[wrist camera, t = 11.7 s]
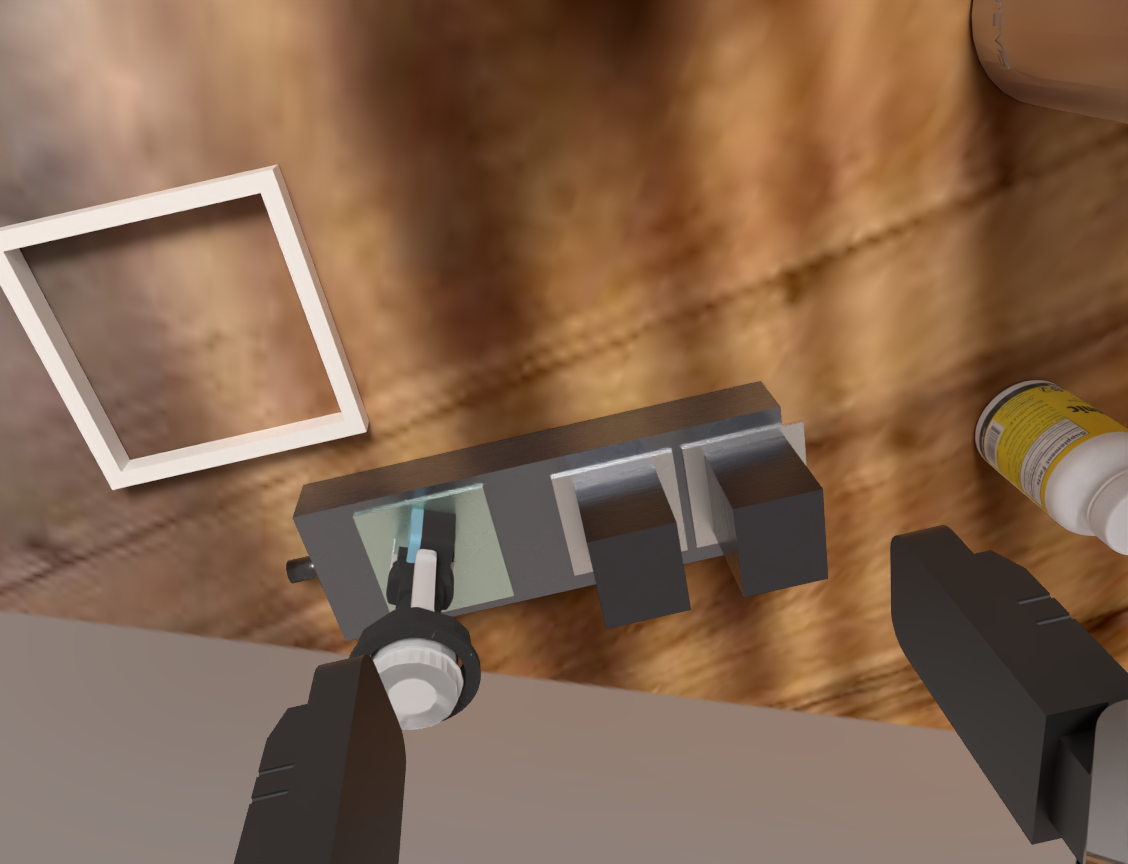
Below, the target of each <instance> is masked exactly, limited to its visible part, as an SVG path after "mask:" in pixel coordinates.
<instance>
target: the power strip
mask: <svg viewBox="0 0 1128 864" xmlns="http://www.w3.org/2000/svg"><path fill="white" fill-rule="evenodd" d="M413 508H415V509H422V510H429V511H437V512H444V513H451V514H456V532H455V564H454V568H453V575H454V595H453V600H452V602H451V604H450V606H449V607H448V609H447V610H442V611H441V614H445V615H448V616H452V617H454V616H458V615H463V614H467V613H471V612H476V611H480V610H485V609H489V608H493V607H498V606H502V605H507V604H511V603H515V602H520V601H524V600H529V599H533V598H537V597H542V596H546V595H551V594H555V593H559V592H564V591H568V590H573V589H577V588H581V587H586V586H590V585H594V584H596V586H597V590H598V595H599V599H600V603H601V608H602V612H603V616H604V621H605V625H606V629H609V628H613V627H617V626H622V625H626V624H630V623H635V622H639V621H644V620H648V619H652V618H657V617H661V616H666V615H670V614H674V613H679V612H683V611H688V610H691V608H690V601H689V595H688V589H687V583H686V577H685V571H684V565H683V564H687V563H691V562H696V561H700V560H704V559H709V558H713V557H718V556H722V555H724V556H725V559H726V561H727V563H728V565H729V567H730V569H731V572H732V574H733V576H734V578H735V580H736V582H737V584H738V587H739V589H740V591H741V593H742V595H743V597H744V598H745V597H749V596H754V595H758V594H762V593H767V592H771V591H775V590H780V589H784V588H789V587H793V586H797V585H802V584H806V583H811V582H815V581H819V580H824V579H828V568H827V551H826V534H825V517H824V500H823V488H822V487H821V486H820V484H819V483H818V482H817V480H816V479H815V477H814V476H813V475H812V473H811V472H810V471H809V469H808V468H807V466H806V453H805V438H804V424H803V421H802V420H800V421H796V422H791V423H787V424H782V421H781V409H780V406H779V404H778V403H777V402H776V400H775V399H774V398H773V396H772V395H771V394H770V393H769V391H768V390H767V389H766V387H765V386H764V385H763V383H762V382H761V381H759V382H755V383H750V384H746V385H742V386H737V387H733V388H729V389H724V390H720V391H715V392H711V393H707V394H702V395H698V396H693V397H689V398H685V399H680V400H676V401H671V402H667V403H663V404H658V405H654V406H649V407H645V408H641V409H636V410H632V411H627V412H623V413H619V414H614V415H610V416H605V417H601V418H597V419H592V420H588V421H584V422H579V423H575V424H570V425H566V426H562V427H557V428H553V429H548V430H544V431H540V432H535V433H531V434H526V435H522V436H518V437H513V438H509V439H504V440H500V441H496V442H491V443H487V444H482V445H478V446H474V447H469V448H465V449H460V450H456V451H452V452H447V453H443V454H438V455H434V456H430V457H425V458H421V459H417V460H412V461H408V462H403V463H399V464H395V465H390V466H386V467H381V468H377V469H373V470H368V471H364V472H359V473H355V474H351V475H346V476H342V477H337V478H333V479H329V480H324V481H320V482H315V483H311V484H307V485H303V488H302V491H301V494H300V497H299V500H298V503H297V506H296V509H295V512H294V515H293V520H294V522H295V524H296V527H297V529H298V531H299V534H300V536H301V538H302V541H303V543H304V545H305V548H306V550H307V552H308V554H309V556H306V557H302V558H298V559H293V560H289V561H288V562H287V565H286V570H287V575H288V578H289V580H290V582H291V583H297V582H301V581H306V580H310V579H314V578H319V580H320V582H321V585H322V587H323V589H324V592H325V594H326V596H327V599H328V601H329V603H330V606H331V608H332V610H333V612H334V615H335V617H336V619H337V622H338V624H339V626H340V629H341V631H342V633H343V636H344V638H345V640H346V641H348V640H353V639H357V638H360V636H361V634H362V632H363V630H364V629H365V628H367V627H368V626H370V625H371V624H373V623H374V622H376V621H378V620H379V619H381V618H382V617H384V616H385V615H387V614H388V613H390V612H391V611H393V610H395V607H396V605H391V604H389V603H388V601H387V597H386V589H387V582H388V575H389V570H390V562H391V555H392V548H393V542H394V539H396V541H395V549H394V554H395V555H398V549H399V546H400V547H406V546H407V541H408V535H409V529H410V524H411V514H412V509H413Z"/></svg>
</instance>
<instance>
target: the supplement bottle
mask: <svg viewBox="0 0 1128 864" xmlns="http://www.w3.org/2000/svg"><path fill="white" fill-rule="evenodd" d="M975 441H976V446H977V449H978V451H979V453H980V454H981V456H982V457H983V458H984V459H985V461H987V462H988V463H989V464H990V465H991V466H992V467H993V468H994V469H995V470H997V471H998V472H999V473H1000V474H1001V475H1002V476H1004V477H1005V478H1006V479H1007V480H1008V481H1009V482H1011V483H1012V484H1013V485H1014V486H1015V487H1016V488H1018V489H1019V490H1020V491H1021V492H1022V493H1023V494H1025V495H1026V496H1027V497H1028V498H1029V499H1030V500H1032V501H1033V502H1034V503H1035V504H1036V505H1037V506H1039V507H1040V508H1041V509H1042V510H1043V511H1044V512H1045V513H1047V514H1048V515H1049V516H1050V517H1051V518H1052V519H1053V520H1055V521H1056V522H1057V523H1058V524H1059V525H1061V526H1062V527H1063V528H1065V529H1067V530H1069V531H1071V532H1073V533H1076V534H1080V535H1086V536H1097V537H1098V538H1099V539H1100V540H1102V541H1103V542H1104V543H1105V544H1107V545H1108V546H1109V547H1110V548H1111V549H1113V550H1114V551H1116V552H1118V553H1121V554H1124V555H1128V429H1127V428H1125V427H1124V426H1122V425H1121V424H1119V423H1118V422H1116V421H1115V420H1113V419H1112V418H1110V417H1108V416H1107V415H1105V414H1104V413H1102V412H1100V411H1099V410H1097V409H1096V408H1094V407H1093V406H1091V405H1089V404H1088V403H1086V402H1085V401H1083V400H1081V399H1080V398H1078V397H1077V396H1075V395H1073V394H1072V393H1070V392H1069V391H1067V390H1066V389H1064V388H1062V387H1060V386H1058V385H1056V384H1054V383H1052V382H1048V381H1043V380H1030V381H1025V382H1021V383H1018V384H1015V385H1013V386H1011V387H1009V388H1007V389H1006V390H1004V391H1003V392H1001V393H1000V394H999V395H997V396H996V397H995V398H994V399H993V400H992V401H991V402H990V403H989V404H988V405H987V407H986V408H985V409H984V411H983V412H982V414H981V416H980V418H979V420H978V423H977V426H976V433H975Z"/></svg>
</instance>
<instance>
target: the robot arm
mask: <svg viewBox="0 0 1128 864" xmlns="http://www.w3.org/2000/svg"><path fill="white" fill-rule="evenodd" d="M972 30H973V40H974V44H975V47H976V51H977V55H978V58H979V61H980V63H981V65H982V66H983V68H984V70H985V72H986V73H987V75H988V77H989V78H990V80H991V81H992V82H993V83H994V84H995V85H996V86H997V87H998V88H999V89H1000V90H1001V91H1002V92H1004V93H1005V94H1007V95H1009V96H1011V97H1012V98H1014V99H1016V100H1018V101H1020V102H1024V103H1028V104H1032V105H1036V106H1041V107H1046V108H1051V109H1056V110H1061V111H1066V112H1072V113H1077V114H1081V115H1085V116H1090V117H1095V118H1100V119H1105V120H1111V121H1116V122H1121V123H1126V124H1128V0H973V7H972ZM890 557H891V615H892V622H893V626H894V630H895V633H896V637H897V639H898V642H899V644H900V646H901V648H902V650H903V652H904V654H905V656H906V657H907V659H908V660H909V662H910V663H911V665H912V666H913V668H914V669H915V671H916V672H917V674H918V675H919V677H920V678H921V680H922V681H923V683H924V684H925V686H926V687H927V689H928V690H929V692H930V693H931V695H932V696H933V698H934V699H935V701H936V702H937V704H938V705H939V707H940V708H941V710H942V711H943V713H944V714H945V716H946V717H947V719H948V720H949V722H950V723H951V725H952V726H953V728H954V729H955V731H956V732H957V734H958V735H959V737H960V738H961V739H962V741H963V743H964V744H965V745H966V747H967V748H968V750H969V751H970V753H971V754H972V756H973V757H974V759H975V760H976V762H977V763H978V764H979V766H980V768H981V769H982V771H983V772H984V774H985V775H986V777H987V778H988V780H989V781H990V783H991V784H992V786H993V787H994V789H995V790H996V792H997V793H998V795H999V796H1000V798H1001V799H1002V801H1003V802H1004V804H1005V805H1006V807H1007V808H1008V810H1009V811H1010V813H1011V814H1012V816H1013V817H1014V819H1015V820H1016V822H1017V823H1018V825H1019V826H1020V827H1021V829H1022V831H1023V832H1024V834H1025V835H1026V837H1027V838H1028V840H1029V841H1030V843H1031V844H1032V845H1033V844H1037V843H1041V842H1046V841H1050V840H1054V839H1059V838H1062V839H1063V840H1064V841H1065V843H1066V844H1067V845H1068V847H1069V849H1070V850H1071V851H1072V853H1073V854H1074V855H1075V857H1076V861H1075V864H1128V673H1127V672H1126V671H1125V670H1124V669H1123V668H1122V667H1121V666H1120V665H1119V664H1118V663H1117V662H1116V661H1115V660H1114V659H1113V657H1112V656H1111V655H1110V654H1109V653H1108V652H1107V651H1106V650H1105V649H1104V648H1103V647H1102V646H1101V645H1100V644H1099V643H1098V642H1097V641H1096V640H1095V639H1094V638H1093V637H1092V636H1091V635H1090V634H1089V633H1088V632H1087V631H1086V630H1085V629H1084V628H1083V627H1082V626H1081V625H1080V624H1079V623H1078V622H1077V621H1076V620H1075V619H1071V618H1070V615H1069V613H1068V612H1067V611H1066V609H1065V608H1064V607H1063V606H1062V605H1061V604H1060V603H1059V602H1058V601H1057V600H1056V599H1055V598H1051V597H1050V593H1049V592H1048V591H1047V590H1046V589H1045V588H1044V587H1043V586H1042V585H1041V584H1040V583H1039V582H1038V581H1037V580H1036V579H1035V578H1034V577H1033V576H1032V575H1031V574H1030V573H1029V572H1028V571H1027V570H1026V569H1025V568H1023V567H1022V566H1020V565H1018V564H1016V563H1014V562H1012V561H1010V560H1008V559H1006V558H1004V557H1003V556H1001V555H999V554H997V553H995V552H993V551H991V550H990V551H985V552H981V553H976V554H973V552H972V551H971V550H970V549H969V548H968V547H967V546H966V545H965V544H964V543H963V541H962V540H961V539H960V538H959V537H958V536H957V535H956V534H955V533H954V532H953V531H952V530H951V529H950V528H949V527H947V526H945V525H941V526H936V527H932V528H928V529H923V530H919V531H914V532H910V533H906V534H901V535H897V536H894V537H893V538H892V541H891V547H890ZM405 754H406V753H405V745H404V739H403V734H402V730H401V727H400V724H399V721H398V719H397V716H396V714H395V711H394V709H393V707H392V704H391V702H390V699H389V697H388V695H387V692H386V690H385V687H384V685H383V683H382V680H381V678H380V675H379V673H378V671H377V668H376V666H375V664H374V661H373V660H372V658H371V657H370V656H369V655H362V656H358V657H353V658H349V659H345V660H340V661H336V662H331V663H327V664H323V665H319V666H318V667H317V668H316V670H315V673H314V677H313V682H312V686H311V691H310V695H309V700H308V704H305V705H301V706H296V707H292V708H288V709H287V711H286V712H285V714H284V715H283V716H282V718H281V719H280V721H279V722H278V724H277V725H276V727H275V728H274V730H273V731H272V733H271V734H270V735H269V737H268V738H267V741H266V744H265V748H264V752H263V756H262V759H261V763H260V767H259V777H257V778H256V782H255V786H254V790H253V793H252V804H250V805H249V808H248V812H247V816H246V820H245V823H244V828H243V831H242V835H241V839H240V842H239V846H238V850H237V853H236V857H235V861H234V864H398V862H399V849H400V836H401V822H402V811H403V796H404V783H405V771H406V755H405Z"/></svg>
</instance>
